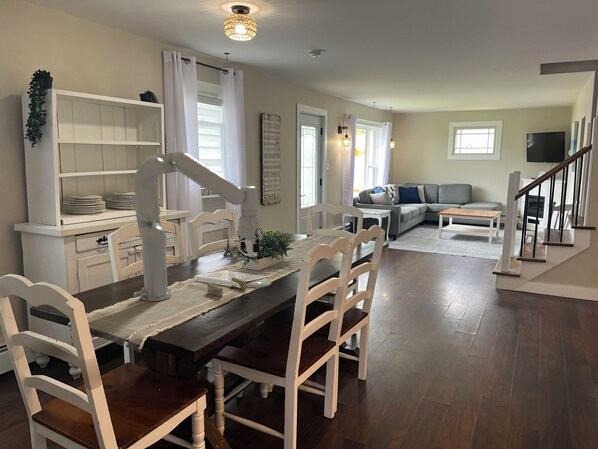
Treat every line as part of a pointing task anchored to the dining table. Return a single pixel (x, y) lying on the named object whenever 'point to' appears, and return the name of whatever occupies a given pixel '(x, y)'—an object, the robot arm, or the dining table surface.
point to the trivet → (260, 283)
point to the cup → (248, 247)
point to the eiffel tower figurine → (229, 252)
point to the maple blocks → (219, 290)
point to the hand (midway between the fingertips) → (249, 250)
